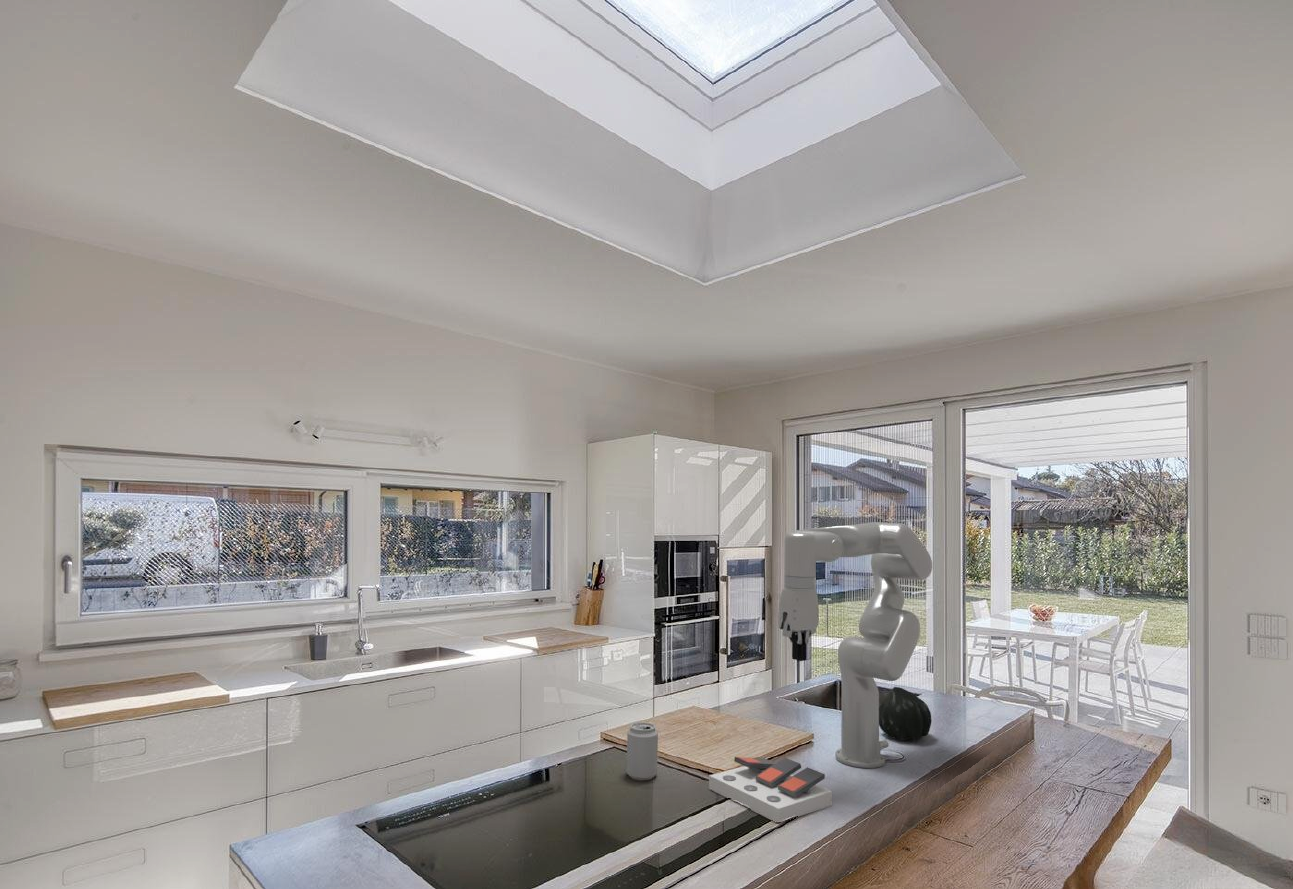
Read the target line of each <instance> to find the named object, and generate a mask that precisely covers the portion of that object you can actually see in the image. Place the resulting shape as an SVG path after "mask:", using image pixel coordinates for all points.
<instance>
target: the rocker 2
mask: <svg viewBox="0 0 1293 889" xmlns="http://www.w3.org/2000/svg"><path fill="white" fill-rule="evenodd" d="M793 775H794V776H792V777H791V778H789V779H787V780H786V781H784V782H782V783H781V784H779V785H777V786H778V790H780V791H782V792H784V793H786V794H788V795H791V796H793V797H797V796H798V795H800V794H801V793H803V792H804V791H806V790H808V789H809V788H811V787H812V786H814V785H817V784H818V783H820V782H821V781H823V780H826V775H825V773H822V772H821V771H818V770H815V769H813V768H811V767H808V766H807V767H806V768H804V769H801V770H800V771H799V772H797V773H796V774H793Z"/></svg>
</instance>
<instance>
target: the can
mask: <svg viewBox="0 0 1293 889" xmlns="http://www.w3.org/2000/svg"><path fill="white" fill-rule="evenodd" d="M626 735H627V736H626V738H627V740H626V769H625V770H626V771H625V772H626V774H627V775H628V776H629V777H630V778H631V779H633V780H637V781H649V780H652V779H654V777H655V776H656V775H657V774H658V752H659V751H658V749H659V748H658V747H659V746H658V745H659V732H658V730H657V729H656V725H655V724H654V723H652V722H648V721H647V722H646V721H645V722H644V721H640V722H633V723H631V724H630V728H628V731H627V734H626Z"/></svg>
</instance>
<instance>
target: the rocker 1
mask: <svg viewBox="0 0 1293 889" xmlns="http://www.w3.org/2000/svg"><path fill="white" fill-rule="evenodd" d="M733 762H734V763H737V764H739V765H741V766H746V767H748V768H769V767H770V766H772V765H773V764H775V763H776V762H774V761H772V760H769V759H767V758H765V757H747V756H746V757H745V756H735V757H734V761H733Z"/></svg>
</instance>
